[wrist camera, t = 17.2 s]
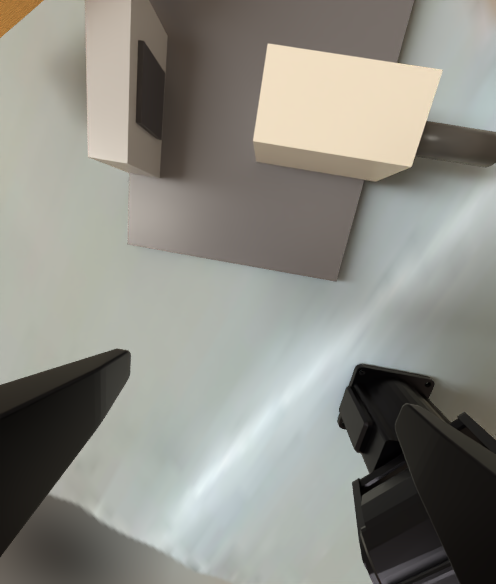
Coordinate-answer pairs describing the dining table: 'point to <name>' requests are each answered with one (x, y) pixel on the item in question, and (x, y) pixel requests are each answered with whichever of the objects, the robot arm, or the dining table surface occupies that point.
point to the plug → (355, 116)
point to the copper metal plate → (14, 12)
